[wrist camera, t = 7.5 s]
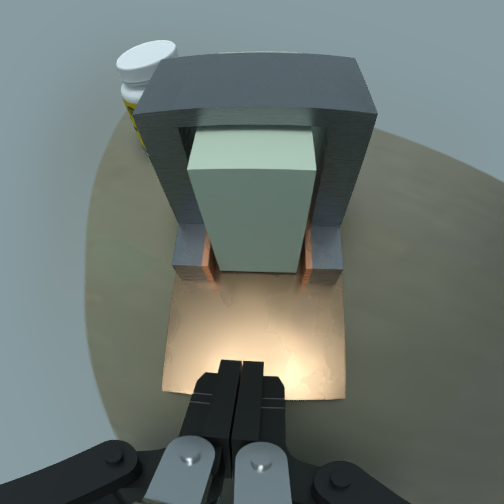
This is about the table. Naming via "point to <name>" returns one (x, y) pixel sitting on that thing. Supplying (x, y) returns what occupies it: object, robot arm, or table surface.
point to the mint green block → (254, 192)
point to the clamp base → (317, 227)
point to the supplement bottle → (141, 71)
